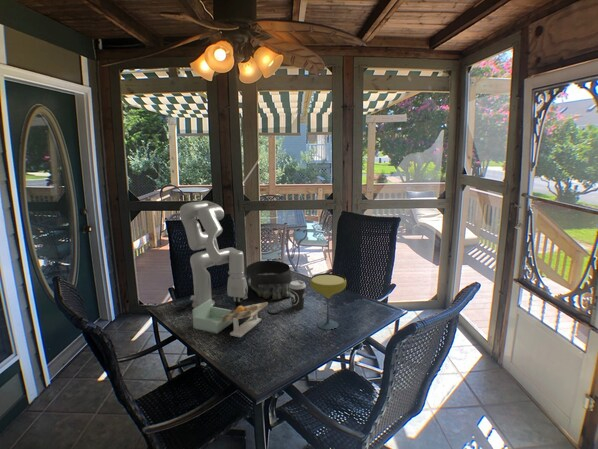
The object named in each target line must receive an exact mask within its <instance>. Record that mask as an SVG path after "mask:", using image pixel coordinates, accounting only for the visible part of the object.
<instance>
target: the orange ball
mask: <svg viewBox="0 0 598 449" xmlns="http://www.w3.org/2000/svg"><path fill="white" fill-rule="evenodd" d="M235 309H236V308H235ZM244 310H245V309H244V306H243V305H242V306H238V307H237V309H236V311H237V313H238V312H243V311H244Z"/></svg>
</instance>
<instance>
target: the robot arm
mask: <svg viewBox="0 0 598 449" xmlns="http://www.w3.org/2000/svg"><path fill="white" fill-rule="evenodd" d="M224 217H225V211H224V209H223V208H222V206H220V205H219V204H218V203H215V202H211V201H209V200H202V201H201V200H200V201H192V202H187V203H184V204H182V205H181V206H180V207H179V218H180V221H181V223H182V225H183V227H184V230H185V234H186V237H187V243H188V246H189V248H190V250H192V251H198V252H195V253H193V254H192V255H191V256H190V258H189V259H190V260H189V262H190V267H191V272H192V280H193V282H192V284H193V295H190V298H189V301H192V304H191V307H192V308H193V309H194V308H196V307H198V306H200V305H201V304H203V303H205V302H206V301H208V300H210V299H212V283H211V273H210V272H209V271H208V270H207V268H210V267H213V266H220V265H224V264H228V268H229V270H227V274H228V275H229V276H228V277H227V285H226V286H227V287H226V288H227V293H226V294H227V296H228V297H230V298H232V299H233V301H234V303H235V304H234V305H235V309H237V307H238V306H243V304H242V301H243V300H246V299H248V295H249V293H248V292H249V291H248V290H249V288H248V287H249V286H248V280H247V276H245V275H246V274H245V257H244V252H243V251H242V250H239V249H236V248H235V247H226V248H222V249H219V248H220V247H219V245H218V241H217V237H219V236H220V235H221V234H222V233H223V230H224V229H223V227H222V226H221V223H220V221H221V220H223V219H224ZM195 218H198V219H199V221H200V222H199V221H198V220H197V219H195ZM200 223H201V224H200ZM201 225H202V227H203V229H204V231H202V227H201ZM203 249H204V250H203ZM200 250H202V251H200ZM214 305H215V300H214V299H212V306H213V307H214Z"/></svg>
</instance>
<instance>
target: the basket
mask: <svg viewBox="0 0 598 449" xmlns="http://www.w3.org/2000/svg"><path fill="white" fill-rule="evenodd" d="M245 269H246V274H245V275H246V281H247V284H248V285H249V287H250V288H251V289H252V290H253V291H255V293H256V294H257V295H258V297H259V298H262V299H267V300H269V299H271V301H278V300H281V299H282V300H284V298H288V299H291V294H290V288H289V285H290V283H291V282H292V271H291V267H290V265H289V264H288V263H285V262H282V261H278V260H258V261H254V262H252V263H250V264H249V265H247V266H246V267H245Z"/></svg>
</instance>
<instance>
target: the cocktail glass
mask: <svg viewBox="0 0 598 449" xmlns="http://www.w3.org/2000/svg"><path fill="white" fill-rule="evenodd" d="M309 284H310V285H309V286H310V287H311V289H312V290H313V291H315V292H317V293H319V294H321V295H323V296H324V297H325V298H326V299H327V300H326V302H327V307H326V310H327V311H326V312H327V313H326V319H322V320H320V321H318V322H317V324H316V325H317V328H319V329H321V330H324V329H325V331H332V330H331V329H333V330H335V329H334V328H336V329H337V328H338V327H339V323H338V322H337V321H335V320H332V319H330V317H329V314H330V313H329V312H330V310H329V306H330V305H329V303H330V301H329V299H330V298H331V297H332V296H333V295H335V294H336V295H337V294H338V293H341V292H342V291H344V290H345V289H346V287H347V279H346V277H345V276H344V275H341V274H339V273H338V274H337V273H334V272H333V273H331V272H330V273H329V272H323V273H317V274H314V275H312V276H311V277H310V280H309Z"/></svg>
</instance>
